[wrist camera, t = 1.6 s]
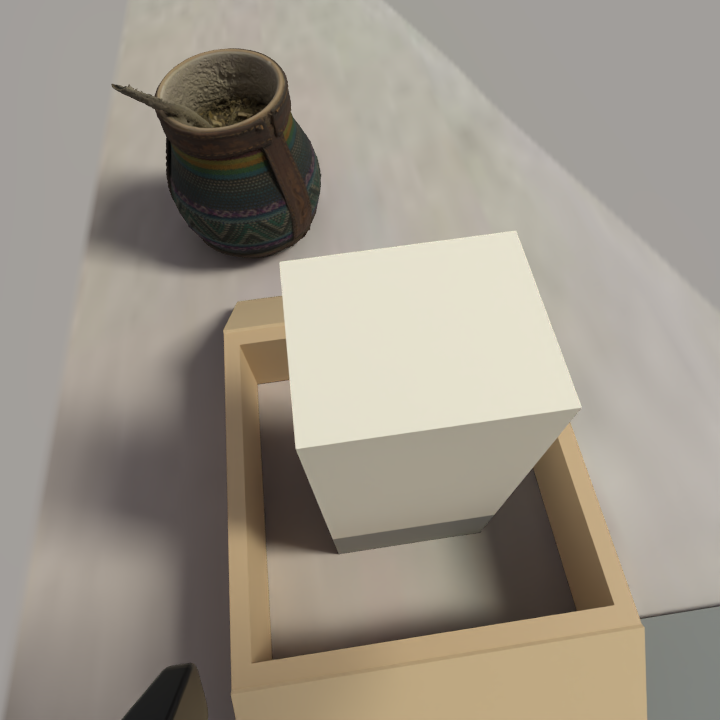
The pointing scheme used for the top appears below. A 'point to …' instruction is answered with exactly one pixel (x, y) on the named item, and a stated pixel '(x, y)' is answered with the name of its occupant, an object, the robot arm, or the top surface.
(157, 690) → the robot arm
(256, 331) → the tan rectangular open frame
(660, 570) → the top surface
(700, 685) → the mat
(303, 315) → the box
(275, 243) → the mate gourd
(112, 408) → the top surface
